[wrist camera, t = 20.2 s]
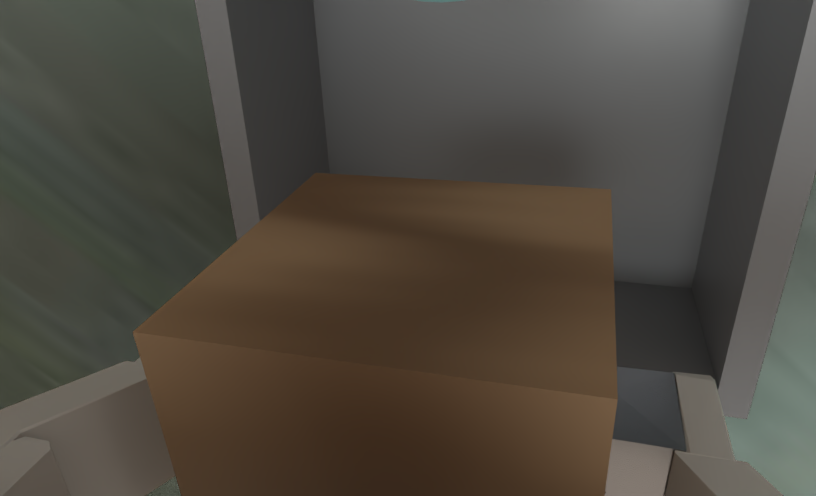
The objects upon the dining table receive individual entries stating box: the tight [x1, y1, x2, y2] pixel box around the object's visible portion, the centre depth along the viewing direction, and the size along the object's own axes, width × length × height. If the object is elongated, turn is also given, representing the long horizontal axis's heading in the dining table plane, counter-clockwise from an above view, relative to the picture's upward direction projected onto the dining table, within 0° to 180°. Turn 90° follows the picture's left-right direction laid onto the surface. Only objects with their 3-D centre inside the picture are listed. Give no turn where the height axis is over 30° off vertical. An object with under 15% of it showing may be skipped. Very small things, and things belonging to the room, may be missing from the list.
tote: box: [195, 0, 816, 419], centre depth 16 cm, size 14×18×6 cm
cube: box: [133, 173, 618, 496], centre depth 9 cm, size 5×5×5 cm
